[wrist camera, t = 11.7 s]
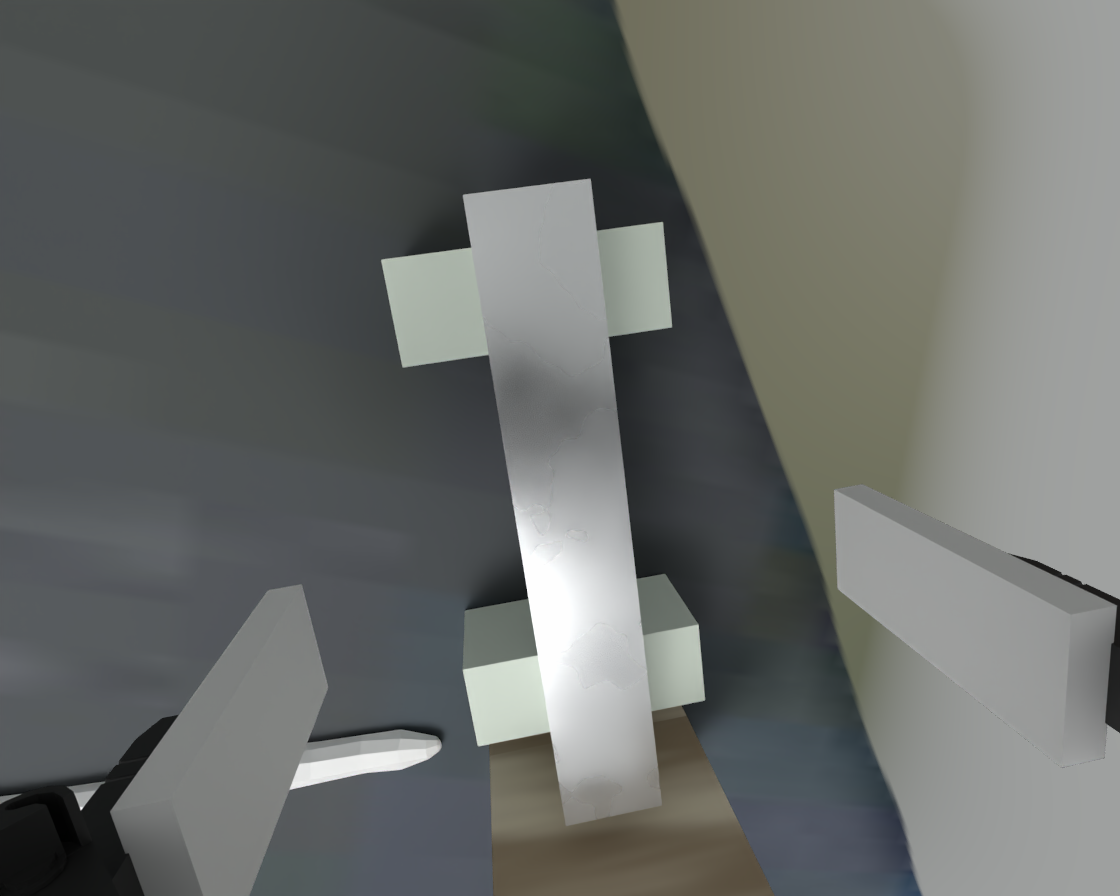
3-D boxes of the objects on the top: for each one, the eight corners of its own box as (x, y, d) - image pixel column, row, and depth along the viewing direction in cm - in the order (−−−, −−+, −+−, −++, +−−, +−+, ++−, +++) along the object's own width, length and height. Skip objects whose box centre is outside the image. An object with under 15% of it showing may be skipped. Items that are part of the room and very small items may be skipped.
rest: (671, 639, 26) (705, 700, 22) (477, 677, 26) (478, 746, 22) (630, 233, 22) (662, 221, 18) (398, 264, 21) (381, 259, 18)
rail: (638, 738, 22) (662, 805, 20) (554, 756, 22) (565, 826, 19) (572, 196, 18) (590, 178, 15) (464, 209, 18) (462, 194, 15)
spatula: (431, 666, 26) (425, 711, 23) (446, 752, 27) (442, 805, 24) (-354, 788, 23) (-466, 856, 20) (-304, 878, 24) (-404, 954, 21)
